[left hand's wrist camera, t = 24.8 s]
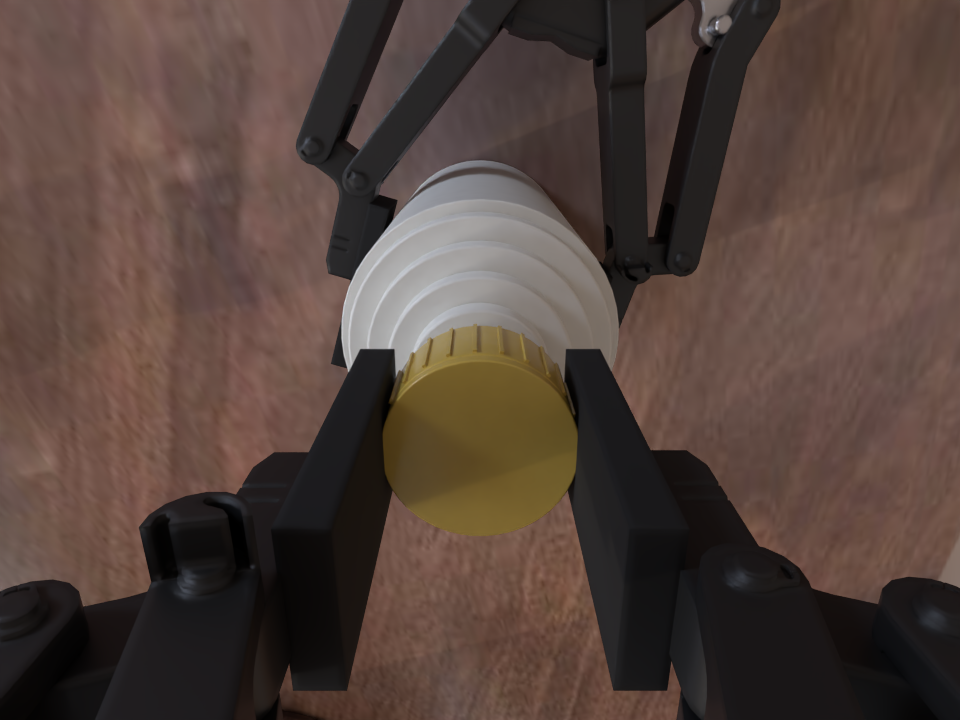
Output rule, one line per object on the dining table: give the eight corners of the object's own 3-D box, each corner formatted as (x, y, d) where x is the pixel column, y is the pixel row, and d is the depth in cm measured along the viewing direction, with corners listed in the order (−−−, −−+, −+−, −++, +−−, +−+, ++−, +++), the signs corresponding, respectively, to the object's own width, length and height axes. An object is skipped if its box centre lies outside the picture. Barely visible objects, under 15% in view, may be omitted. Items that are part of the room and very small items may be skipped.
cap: (525, 292, 14) (532, 323, 12) (595, 443, 15) (612, 495, 13) (359, 367, 14) (339, 409, 12) (441, 506, 15) (434, 564, 14)
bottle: (595, 246, 32) (751, 434, 13) (478, 353, 34) (477, 641, 15) (481, 122, 30) (484, 144, 11) (364, 243, 32) (207, 428, 13)
